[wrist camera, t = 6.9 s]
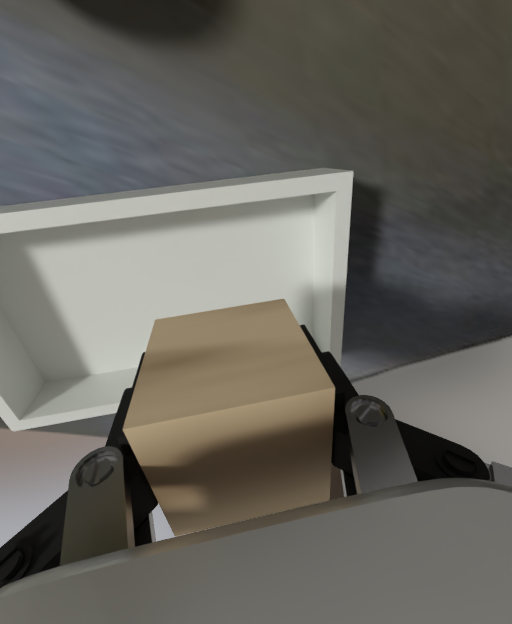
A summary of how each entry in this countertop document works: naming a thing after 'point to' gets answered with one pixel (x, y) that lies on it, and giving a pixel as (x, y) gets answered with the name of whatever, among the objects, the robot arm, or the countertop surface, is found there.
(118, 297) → the tray
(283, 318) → the cube
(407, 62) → the countertop surface
